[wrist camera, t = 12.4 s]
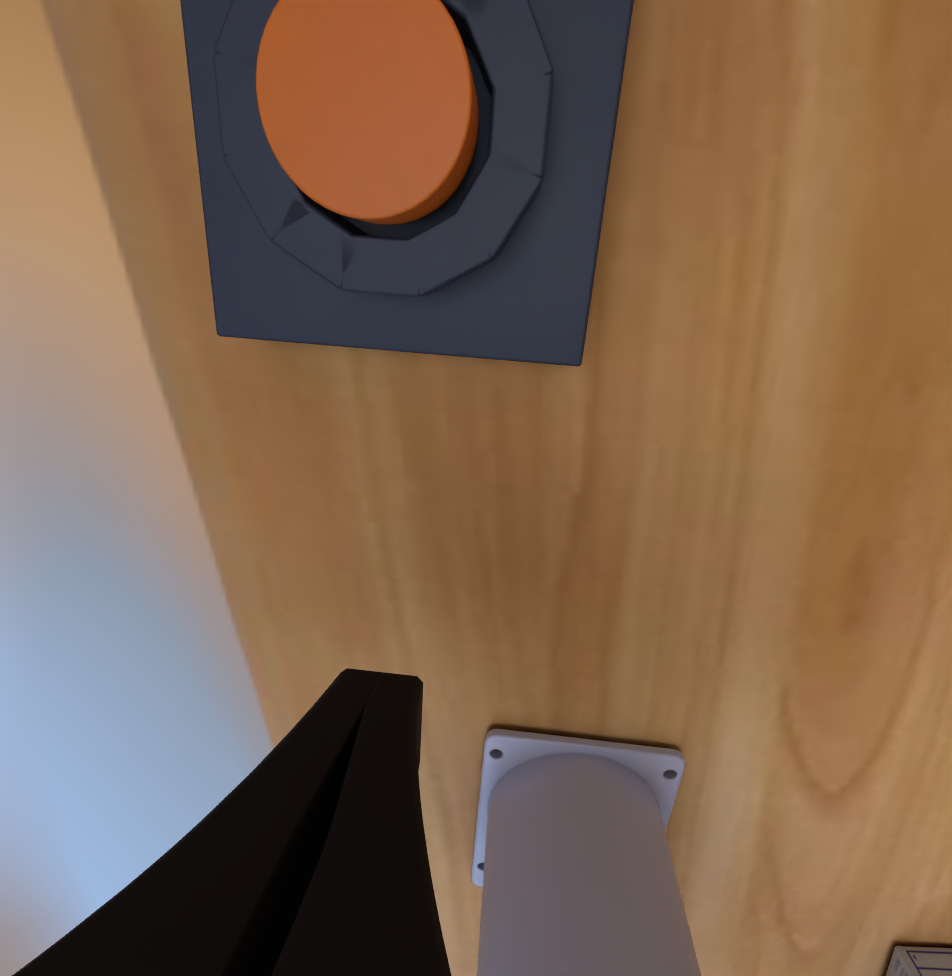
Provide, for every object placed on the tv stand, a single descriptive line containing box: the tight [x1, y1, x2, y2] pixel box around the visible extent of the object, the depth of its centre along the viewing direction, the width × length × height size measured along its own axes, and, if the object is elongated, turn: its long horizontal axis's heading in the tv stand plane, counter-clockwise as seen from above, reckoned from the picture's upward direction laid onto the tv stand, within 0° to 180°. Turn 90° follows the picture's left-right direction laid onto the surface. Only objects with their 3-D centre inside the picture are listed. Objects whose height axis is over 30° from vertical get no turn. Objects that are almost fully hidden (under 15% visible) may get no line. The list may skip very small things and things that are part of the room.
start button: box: [256, 0, 479, 225], centre depth 11 cm, size 4×4×2 cm
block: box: [180, 0, 634, 366], centre depth 13 cm, size 10×10×4 cm
